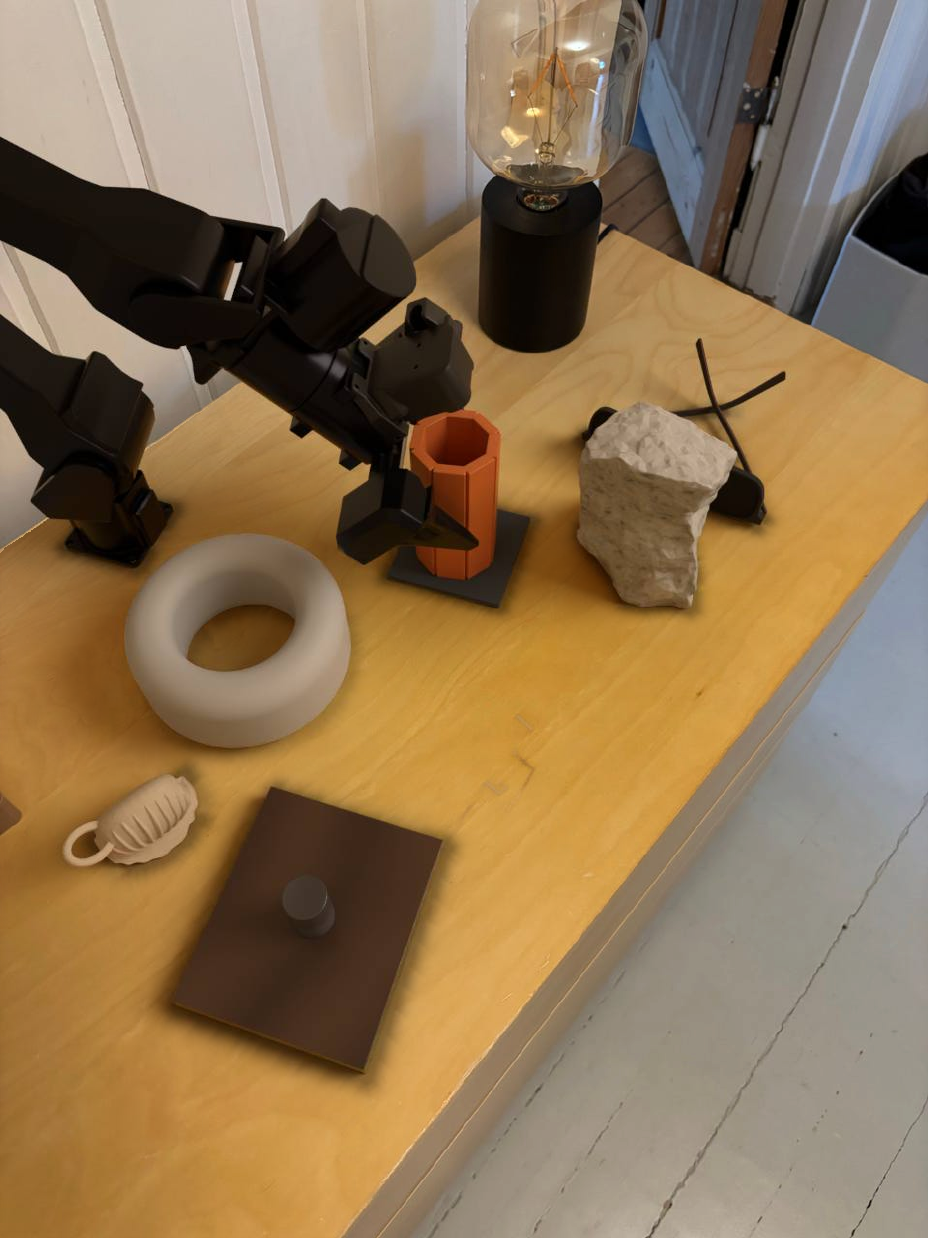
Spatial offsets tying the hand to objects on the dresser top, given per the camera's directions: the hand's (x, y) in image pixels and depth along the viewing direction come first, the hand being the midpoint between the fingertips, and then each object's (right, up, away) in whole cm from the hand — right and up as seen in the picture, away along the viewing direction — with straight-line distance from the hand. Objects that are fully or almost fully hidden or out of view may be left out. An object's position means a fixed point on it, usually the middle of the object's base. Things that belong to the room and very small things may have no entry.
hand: (478, 496), depth 69 cm
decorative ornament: (-22, -23, -7) cm, 33 cm away
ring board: (-10, -28, -10) cm, 31 cm away
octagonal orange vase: (-2, -3, +5) cm, 6 cm away
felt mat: (-1, -3, +5) cm, 7 cm away
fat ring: (-17, -12, 0) cm, 21 cm away
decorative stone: (+12, -4, +5) cm, 14 cm away
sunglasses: (+19, +6, +12) cm, 24 cm away
